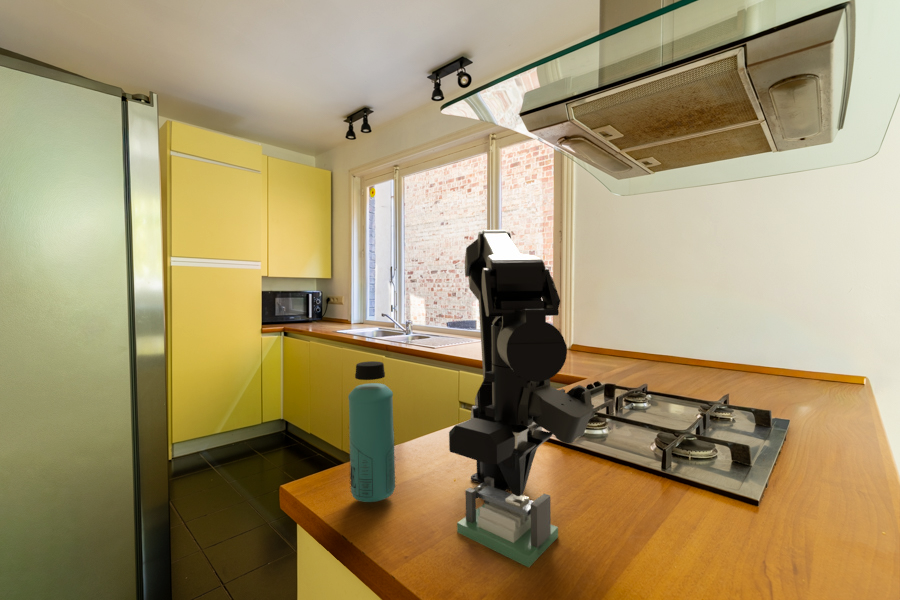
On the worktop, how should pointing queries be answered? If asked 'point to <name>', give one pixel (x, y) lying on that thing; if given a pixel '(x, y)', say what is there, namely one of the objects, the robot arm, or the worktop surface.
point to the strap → (504, 499)
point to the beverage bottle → (371, 436)
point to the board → (509, 527)
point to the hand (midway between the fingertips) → (517, 494)
